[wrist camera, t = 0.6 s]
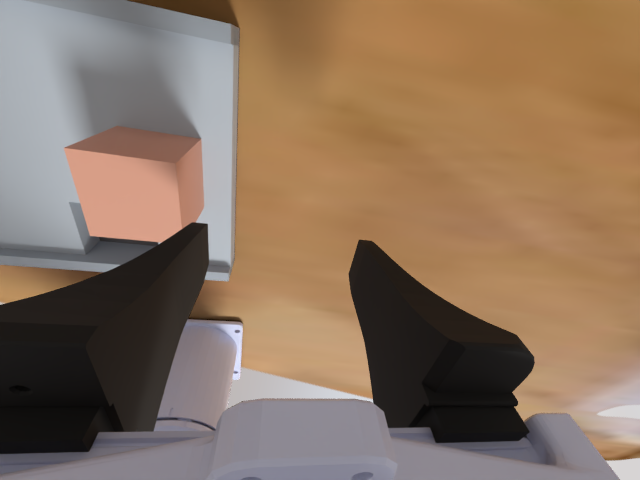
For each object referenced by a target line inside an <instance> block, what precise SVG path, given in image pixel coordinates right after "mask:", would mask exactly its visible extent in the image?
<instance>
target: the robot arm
mask: <svg viewBox="0 0 640 480" xmlns="http://www.w3.org/2000/svg"><path fill="white" fill-rule="evenodd" d="M208 265H209V244H208V224H206V223H196V222H192V223H190V224H189V225H187V226H186V227H184V228H183V229H181V230H180V231H178V232H177V233H175V234H174V235H172V236H171V237H169V238H168V239H166V240H165V241H163V242H162V243H160V244H159V245H157V246H155V247H153V248H152V249H150V250H148V251H147V252H145V253H143V254H141V255H140V256H138V257H136V258H134V259H132V260H130V261H128V262H126V263H124V264H122V265H120V266H118V267H116V268H114V269H111V270H109V271H107V272H104V273H101V274H99V275H96V276H94V277H91V278H89V279H86V280H84V281H81V282H78V283H75V284H72V285H69V286H66V287H63V288H60V289H57V290H54V291H51V292H47V293H44V294H41V295H37V296H34V297H30V298H26V299H22V300H18V301H14V302H10V303H6V304H3V305H0V480H620V479H619V478H618V477H617V475H616V474H615V473H614V471H613V470H612V469H611V467H610V466H609V465H608V464H607V462H606V461H605V460H604V458H603V457H602V456H601V455H600V453H599V452H598V451H597V449H596V448H595V447H594V446H593V444H592V443H591V442H590V440H589V439H588V438H587V437H586V435H585V434H584V433H583V431H582V430H581V429H580V428H579V426H578V425H577V424H576V422H575V421H574V420H573V419H572V417H571V416H570V415H569V414H567V413H539V414H535V415H532V416H530V417H529V418H527V419H526V420H525V421H524V422H523V420H522V419H521V417H520V415H519V414H518V412H517V411H516V409H515V408H514V406H517V405H518V401H517V399H516V398H515V396H514V395H513V393H512V392H513V391H514V390H515V389H516V388H517V387H518V386H519V385H520V384H521V383H522V382H523V381H524V379H525V378H526V377H527V376H528V375H529V374H530V372H531V371H532V369H533V366H534V363H535V362H534V356H533V355H532V354H531V353H530V351H529V350H528V349H527V347H526V346H525V345H524V344H523V342H522V341H521V340H520V339H519V337H518V336H517V335H516V334H513V333H511V332H509V331H506V330H504V329H501V328H499V327H497V326H494V325H492V324H490V323H487V322H485V321H483V320H481V319H479V318H477V317H475V316H473V315H471V314H469V313H467V312H465V311H463V310H461V309H460V308H458V307H456V306H454V305H453V304H451V303H449V302H447V301H446V300H444V299H443V298H441V297H439V296H438V295H436V294H435V293H433V292H432V291H430V290H429V289H428V288H426V287H425V286H423V285H422V284H421V283H419V282H418V281H417V280H415V279H414V278H413V277H412V276H411V275H409V274H408V273H407V272H406V271H405V270H403V269H402V268H401V267H400V266H399V265H398V264H397V263H396V262H394V261H393V260H392V259H391V258H390V257H389V256H388V255H387V254H386V253H385V252H384V251H383V250H382V249H381V248H379V247H378V246H377V245H376V244H375V243H374V242H372V241H367V240H359V241H358V245H357V248H356V251H355V255H354V258H353V261H352V265H351V268H350V271H349V281H350V289H351V294H352V298H353V302H354V305H355V309H356V313H357V316H358V320H359V323H360V327H361V330H362V334H363V338H364V342H365V347H366V353H367V359H368V365H369V372H370V379H371V386H372V394H373V403H374V404H373V403H372V402H370V401H363V400H357V399H256V400H248V401H242V402H240V403H238V404H236V405H234V406H232V407H230V408H228V409H227V407H228V401H229V395H230V390H231V383H232V380H237V379H239V378H240V373H241V354H242V335H243V324H242V323H241V322H234V321H214V320H194V319H188V317H189V315H190V313H191V311H192V308H193V306H194V304H195V301H196V299H197V297H198V295H199V292H200V290H201V288H202V285H203V283H204V280H205V276H206V273H207V269H208Z"/></svg>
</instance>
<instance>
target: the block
mask: <svg viewBox="0 0 640 480" xmlns="http://www.w3.org/2000/svg"><path fill="white" fill-rule="evenodd" d="M64 151H65V154H66V158H67V161H68V164H69V167H70V171H71V174H72V177H73V181H74V184H75V187H76V191H77V194H78V197H79V201H80V204H81V207H82V211H83V214H84V217H85V221H86V224H87V227H88V231H89V234H90V236H97V237H107V238H118V239H129V240H140V241H151V242H163V241H165V240H166V239H168V238H169V237H171V236H172V235H174V234H175V233H177V232H178V231H180V230H181V229H183V228H184V227H186V226H187V225H189V224H190V223H192V222H196V221H197V219H198V217H199V216H200V214H201V212H202V210H203V209H204V187H203V164H202V141H201V139H199V138H193V137H186V136H180V135H174V134H167V133H161V132H154V131H148V130H141V129H135V128H128V127H122V126H115V127H113V128H110V129H108V130H106V131H103V132H101V133H98V134H96V135H94V136H91V137H89V138H86V139H84V140H81V141H79V142H77V143H74V144H72V145H69V146H67V147H64Z"/></svg>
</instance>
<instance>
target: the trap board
mask: <svg viewBox="0 0 640 480" xmlns="http://www.w3.org/2000/svg"><path fill="white" fill-rule="evenodd" d="M239 39H240V28H238V27H236V26H234V25H232V24H229V23H225V22H220V21H216V20H211V19H207V18H203V17H198V16H194V15H189V14H185V13H180V12H176V11H171V10H167V9H163V8H158V7H154V6H149V5H145V4H140V3H136V2H131V1H127V0H0V265H12V266H26V267H39V268H53V269H67V270H80V271H94V272H107V271H109V270H111V269H114V268H116V267H118V266H120V265H122V264H124V263H126V262H128V261H130V260H132V259H134V258H136V257H138V256H140V255H141V254H143V253H145V252H147V251H148V250H150V249H152V248H153V247H155V246H157V245H159V244H160V243H162V242H151V241H140V240H129V239H118V238H107V237H97V236H90V234H89V231H88V227H87V224H86V221H85V217H84V214H83V211H82V207H81V204H80V201H79V197H78V194H77V191H76V187H75V184H74V181H73V177H72V174H71V171H70V167H69V164H68V161H67V158H66V154H65V151H64V147H67V146H69V145H72V144H74V143H77V142H79V141H81V140H84V139H86V138H89V137H91V136H94V135H96V134H98V133H101V132H103V131H106V130H108V129H110V128H113V127H115V126H122V127H128V128H135V129H141V130H148V131H154V132H161V133H167V134H174V135H180V136H186V137H193V138H199V139H201V141H202V164H203V187H204V209H203V210H202V212H201V214H200V216H199V217H198V219H197V221H196V223H206V224H208V244H209V265H208V269H207V273H206V276H205V280H217V281H229V278H230V274H231V270H232V267H233V263H234V259H235V215H236V171H237V127H238V83H239Z"/></svg>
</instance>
